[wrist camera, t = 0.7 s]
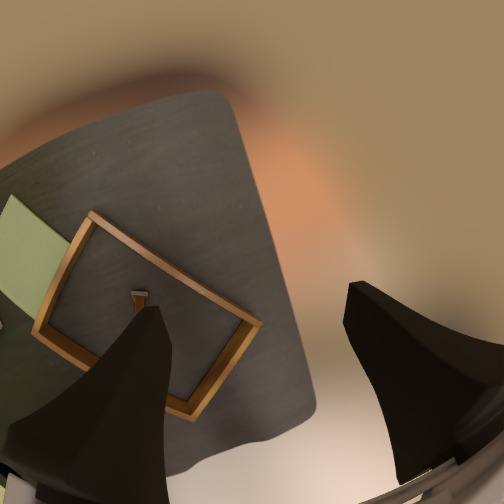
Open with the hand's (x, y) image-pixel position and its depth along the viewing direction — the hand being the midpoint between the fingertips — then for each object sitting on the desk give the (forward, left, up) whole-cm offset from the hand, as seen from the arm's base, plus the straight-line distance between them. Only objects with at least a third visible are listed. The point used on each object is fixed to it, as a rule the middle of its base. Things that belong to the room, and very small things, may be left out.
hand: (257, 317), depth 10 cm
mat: (-11, +17, -19) cm, 28 cm away
